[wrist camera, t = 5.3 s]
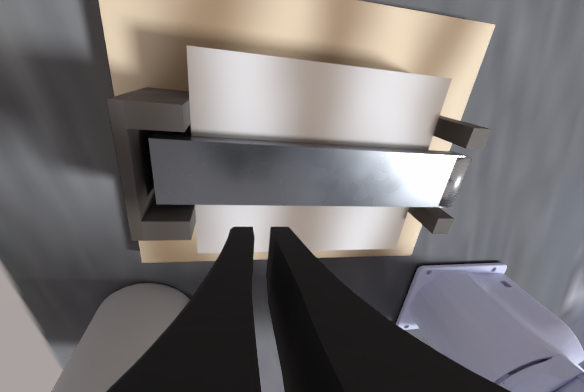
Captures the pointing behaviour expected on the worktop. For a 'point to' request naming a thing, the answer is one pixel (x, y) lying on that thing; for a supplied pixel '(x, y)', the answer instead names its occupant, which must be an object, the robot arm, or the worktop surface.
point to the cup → (120, 335)
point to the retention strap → (300, 173)
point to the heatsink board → (290, 35)
